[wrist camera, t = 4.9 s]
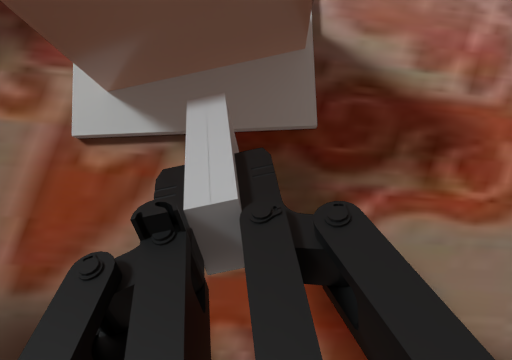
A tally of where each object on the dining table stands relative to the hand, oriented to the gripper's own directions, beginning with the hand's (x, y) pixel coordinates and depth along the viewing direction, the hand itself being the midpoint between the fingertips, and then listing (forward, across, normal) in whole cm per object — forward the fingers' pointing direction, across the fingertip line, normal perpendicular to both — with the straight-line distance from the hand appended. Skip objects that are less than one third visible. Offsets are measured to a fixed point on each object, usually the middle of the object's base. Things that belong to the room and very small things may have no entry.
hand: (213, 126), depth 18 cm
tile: (+6, 0, +1) cm, 6 cm away
